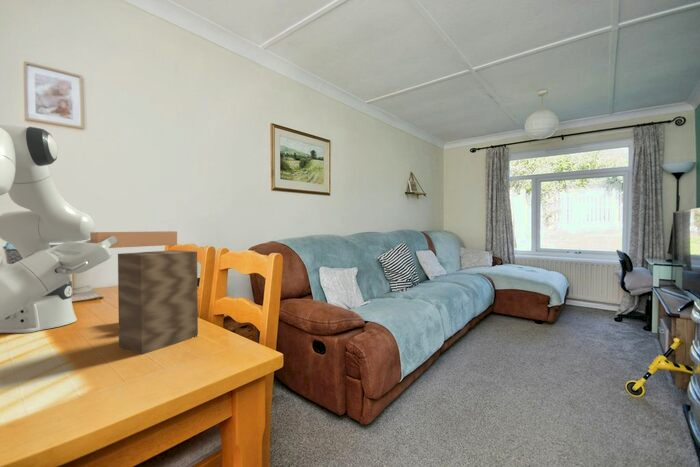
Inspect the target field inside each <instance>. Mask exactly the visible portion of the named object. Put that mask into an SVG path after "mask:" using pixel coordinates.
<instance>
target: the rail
mask: <svg viewBox="0 0 700 467" xmlns="http://www.w3.org/2000/svg"><path fill="white" fill-rule="evenodd" d="M109 236H114V237H115V238H116V239H117V242H116V243H114V244H112V245H111V246H110V247H109V248H108V249H118V248H119V249H120V248H138V247H156V246H157V247H158V246H162V247H163V246H177V245H178V231H174V230H173V231H171V230H170V231H169V230H168V231H167V230H166V231H94V232H90V238H89V240H90V243H98V242H101V241H103V240H104V239H105V238H107V237H109Z"/></svg>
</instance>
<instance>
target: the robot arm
mask: <svg viewBox="0 0 700 467" xmlns="http://www.w3.org/2000/svg"><path fill="white" fill-rule="evenodd" d="M58 148H59V147H58V145H57V142H56V140H55V139H54V137H53V136H52V134H51V133H50V132H49V131H47V130H45V129H44V128H39V127H35V126H28V127H24V126H16V125H5V124H4V125H3V124H1V125H0V196H3V195H5V194H7V193H8V196H9V198H10V200H11V201H12V202H13V203H14V204H16V205H17V206H19V207H21V208H24V209H26V210H16V211H15V210H14V211H9V212H8V211H7V212H3V213H1V214H0V239H1V240H2V241H5V242H6V243H8V244H9V245H11V246H12V247H13V248H14V249H16V251H17V253H19V255H20V257H21V258H22V259H20V260H18V261H16V262H14V263H7V262H6V261H5V260H4V257H3V255H2V253H1V251H0V334H1V333H2V334H3V333H9V334H10V333H11V334H12V333H13V334H15V333H17V334H19V333H20V334H22V333H23V334H24V333H25V334H28V333H33V332H38V331H41V330H48V329H53V328H58V327H63V326H66V325H69V324H72V323H75V322H76V321H78V318H77V316H76V314H75V310H74V306H73V301H72V296H73V282H72V280H71V275H72V274H75V275H76V274H82V273H85V272H87V271H89V270H91V269H93V268H94V267H97V266H99V265H100V264H102V263H104V262H106V261H108V260H109V259H111V258H112V257H113V254H112V252H111V251H110V248H109V247H110V246H111V245H112V244H114V243H116V242H117V239H116V238H115V237H114V236H109V237H107V238H105V239H104V240H103V241H101V242H98V243H90V232H96V230H95V229H96V225H95V221H94V219H93V218H92V217H91V216H90V215H89V214H88V213H85V212H84V211H81V210H79V209H77V208H76V207H74V206H73V205H71V204H70V203H69V202H68V201H66V199H65V198H64V197H63V196H62V195H61V194H60V192H59V189H58V188H57V185H56V183H55V180H54V179H53V175H52V173H51V170H50V168H49V166H48V165H52V164H53V163H54V162H55V161H57V159H58V153H59V152H58V150H59V149H58ZM50 243H51V244H54V243H55V244H57V243H58V244H57V245H55V246H51V245H50ZM59 243H60V244H59Z"/></svg>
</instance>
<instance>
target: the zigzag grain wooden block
mask: <svg viewBox="0 0 700 467" xmlns="http://www.w3.org/2000/svg"><path fill="white" fill-rule="evenodd" d="M117 281H118V282H117V283H118V284H117V288H118V289H117V291H118V292H117V293H118V295H117V298H118V302H117V303H118V347H121V348H123V349H127V350H129V351H131V352H134V353H137V354H140V355H145V354H148V353H151V352H154V351H157V350H160V349H163V348H166V347H168V346H172V345H176V344H178V343H181V341H182V342H184V341H188V340H191V339H193V338H192V337H194V336H197V335H198V336H199V331H198V329H199V328H198V326H199V323H198V322H199V321H198V318H199V317H198V315H199V313H198V312H199V311H198V302H199V301H198V251H193V250H192V251H191V250H190V251H189V250H176V249H175V250H173V249H172V250H170V249H168V250H154V251H142V252H141V251H139V252H124V253H117ZM198 336H197V337H198ZM190 338H191V339H190ZM194 338H195V337H194ZM187 339H188V340H187Z"/></svg>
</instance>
